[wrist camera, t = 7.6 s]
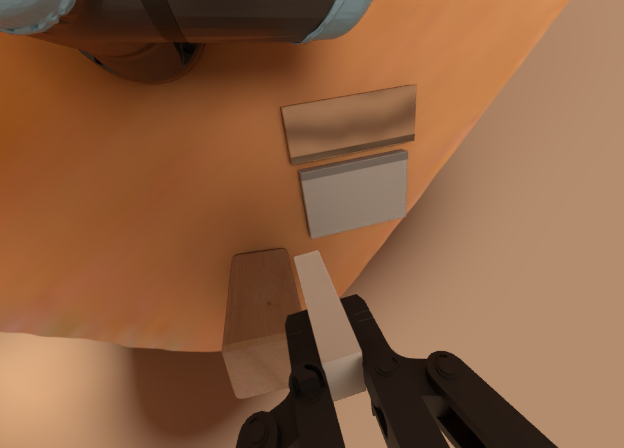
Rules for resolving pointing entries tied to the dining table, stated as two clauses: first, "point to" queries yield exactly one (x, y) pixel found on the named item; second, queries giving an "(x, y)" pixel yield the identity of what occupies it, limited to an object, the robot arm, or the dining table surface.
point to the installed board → (349, 123)
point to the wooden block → (259, 322)
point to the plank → (354, 192)
